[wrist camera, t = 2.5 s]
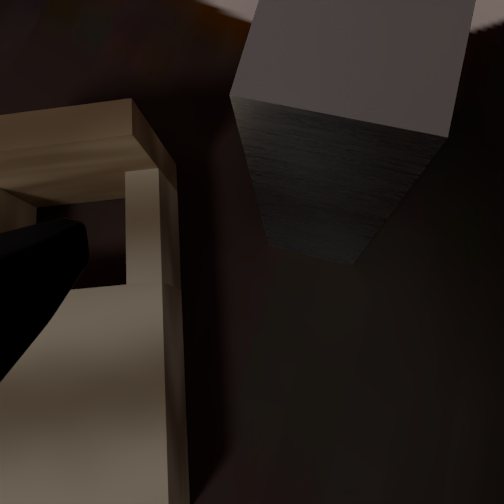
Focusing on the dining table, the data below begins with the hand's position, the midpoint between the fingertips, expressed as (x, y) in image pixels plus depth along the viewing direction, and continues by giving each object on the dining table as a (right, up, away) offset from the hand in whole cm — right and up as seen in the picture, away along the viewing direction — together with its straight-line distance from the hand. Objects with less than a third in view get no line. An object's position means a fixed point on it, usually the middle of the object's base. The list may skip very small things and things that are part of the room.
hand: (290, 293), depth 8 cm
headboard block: (-9, -3, +12) cm, 15 cm away
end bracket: (+3, +3, +12) cm, 13 cm away
